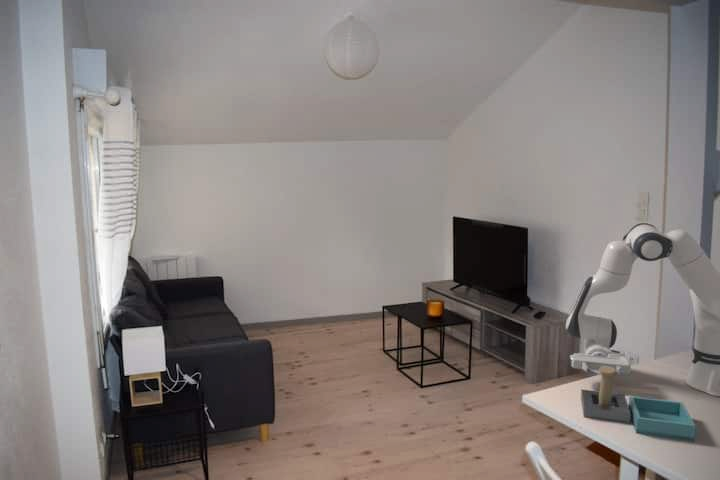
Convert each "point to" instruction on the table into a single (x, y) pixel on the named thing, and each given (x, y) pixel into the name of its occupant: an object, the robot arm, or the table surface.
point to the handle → (606, 385)
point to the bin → (661, 418)
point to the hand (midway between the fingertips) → (602, 371)
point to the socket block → (605, 407)
